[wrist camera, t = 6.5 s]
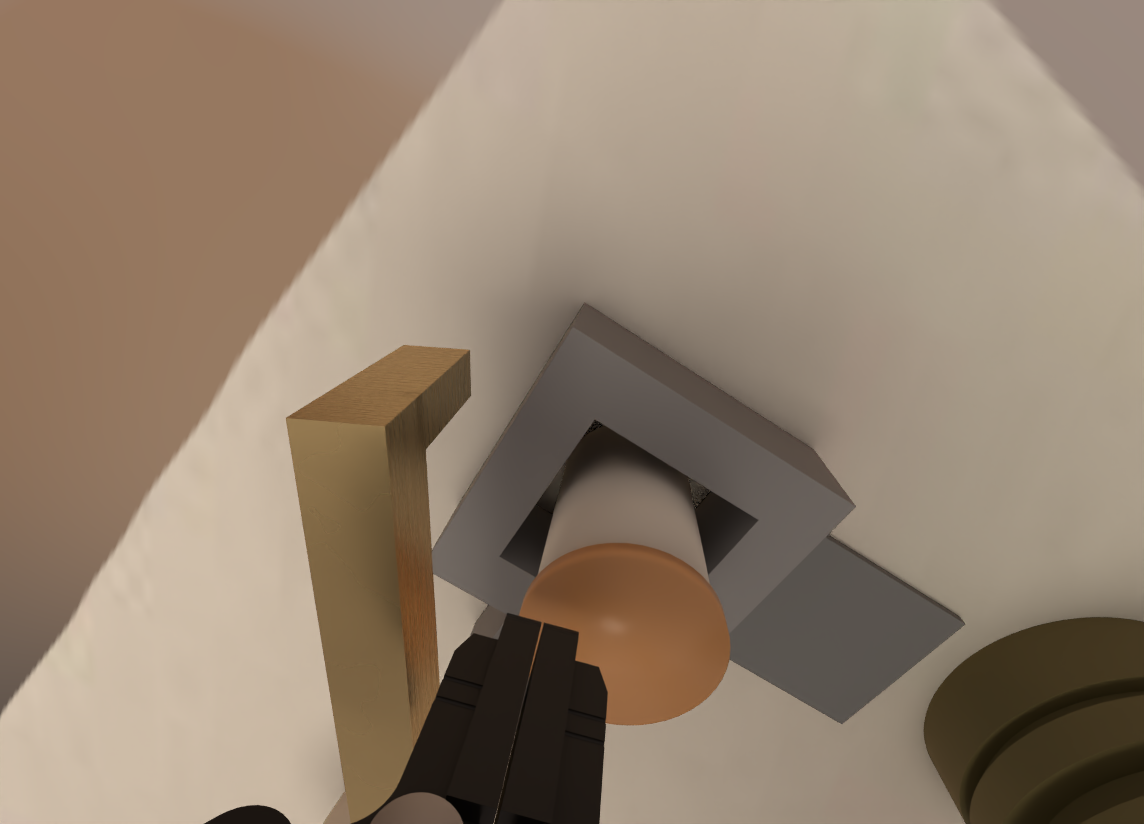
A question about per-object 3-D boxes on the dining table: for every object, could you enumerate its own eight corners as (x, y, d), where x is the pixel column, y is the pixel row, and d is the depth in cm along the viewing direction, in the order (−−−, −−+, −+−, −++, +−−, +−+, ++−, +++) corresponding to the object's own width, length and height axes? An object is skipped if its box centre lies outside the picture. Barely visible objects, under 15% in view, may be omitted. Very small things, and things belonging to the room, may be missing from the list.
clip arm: (508, 352, 11) (443, 431, 7) (506, 859, 17) (470, 1048, 13) (366, 342, 11) (230, 412, 7) (414, 845, 17) (353, 1026, 13)
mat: (959, 617, 22) (965, 624, 21) (838, 716, 24) (841, 724, 24) (821, 530, 21) (825, 536, 21) (711, 642, 23) (712, 649, 23)
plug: (720, 464, 20) (777, 631, 12) (642, 557, 22) (648, 754, 14) (605, 392, 20) (587, 519, 12) (535, 493, 22) (479, 662, 14)
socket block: (814, 450, 20) (994, 692, 10) (595, 690, 25) (572, 1001, 15) (584, 302, 19) (532, 412, 9) (407, 586, 24) (252, 850, 14)
